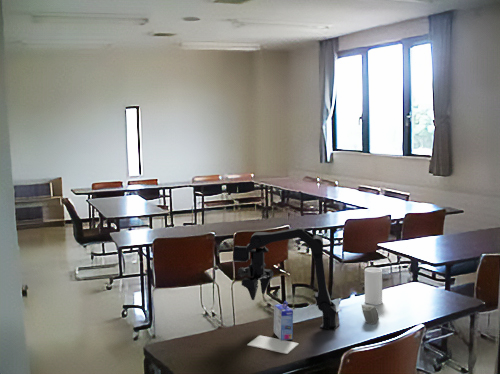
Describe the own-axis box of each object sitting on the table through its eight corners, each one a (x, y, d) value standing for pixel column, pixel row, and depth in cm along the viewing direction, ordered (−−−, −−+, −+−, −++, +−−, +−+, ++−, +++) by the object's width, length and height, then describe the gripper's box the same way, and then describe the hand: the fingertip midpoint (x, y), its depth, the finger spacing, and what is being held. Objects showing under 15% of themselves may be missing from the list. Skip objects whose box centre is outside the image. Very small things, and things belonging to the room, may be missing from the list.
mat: (259, 336, 222) (259, 335, 222) (298, 344, 213) (298, 343, 213) (247, 345, 214) (247, 344, 214) (287, 354, 205) (287, 353, 205)
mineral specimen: (358, 317, 237) (362, 300, 236) (378, 322, 235) (382, 305, 234) (357, 323, 230) (361, 305, 229) (377, 328, 228) (381, 311, 227)
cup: (361, 300, 261) (361, 268, 259) (376, 297, 263) (376, 266, 261) (370, 305, 253) (370, 272, 251) (385, 303, 255) (385, 270, 253)
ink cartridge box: (293, 339, 217) (293, 304, 216) (280, 341, 216) (280, 306, 214) (285, 331, 227) (285, 298, 225) (273, 332, 225) (273, 299, 224)
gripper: (251, 254, 242) (252, 288, 244) (230, 264, 225) (231, 300, 227) (273, 257, 236) (274, 291, 238) (253, 268, 220) (253, 304, 222)
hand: (258, 296), depth 232 cm, fingers open, 9 cm apart
